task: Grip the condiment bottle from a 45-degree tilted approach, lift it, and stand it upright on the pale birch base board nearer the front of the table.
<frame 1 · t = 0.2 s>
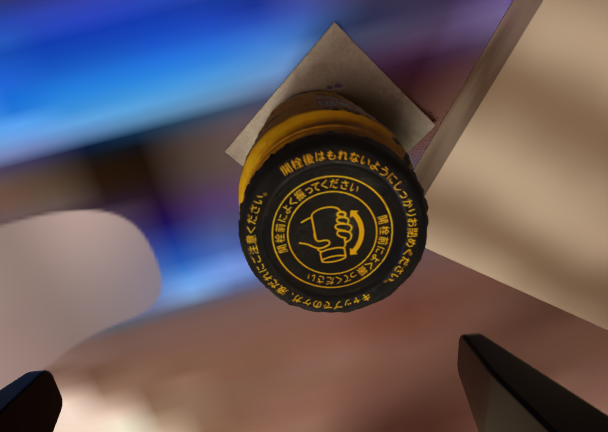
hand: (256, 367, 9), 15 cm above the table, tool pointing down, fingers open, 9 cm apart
base board: (588, 149, 22), on the table
condiment: (328, 137, 22), on the table
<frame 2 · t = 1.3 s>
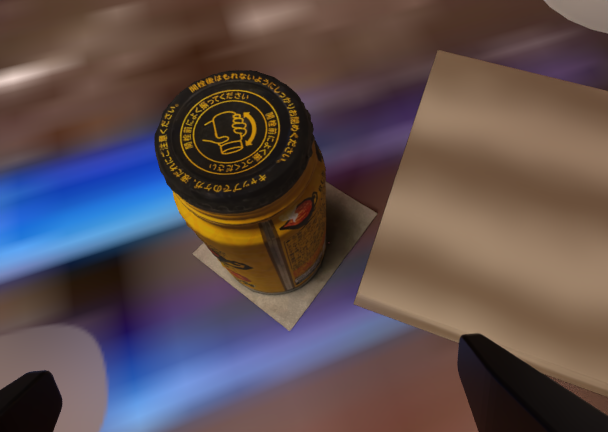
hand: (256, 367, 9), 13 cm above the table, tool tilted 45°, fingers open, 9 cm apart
base board: (527, 222, 24), on the table
condiment: (286, 236, 25), on the table
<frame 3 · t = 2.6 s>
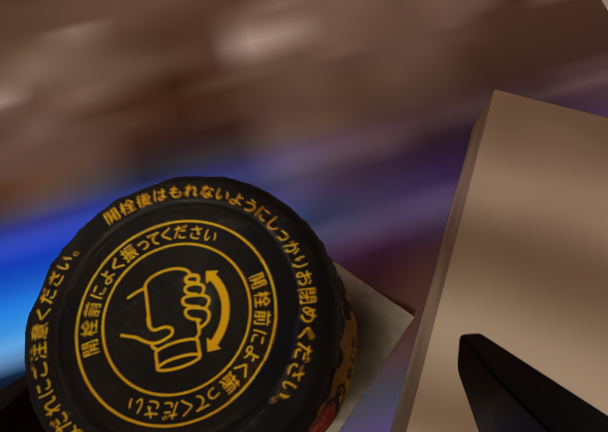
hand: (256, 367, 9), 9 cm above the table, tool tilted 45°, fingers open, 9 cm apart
condiment: (287, 346, 18), on the table
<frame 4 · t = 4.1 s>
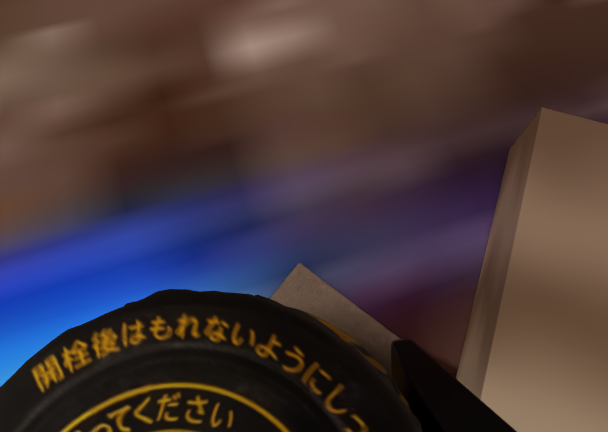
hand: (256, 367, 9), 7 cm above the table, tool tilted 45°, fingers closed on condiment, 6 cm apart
condiment: (305, 415, 15), on the table, touching gripper
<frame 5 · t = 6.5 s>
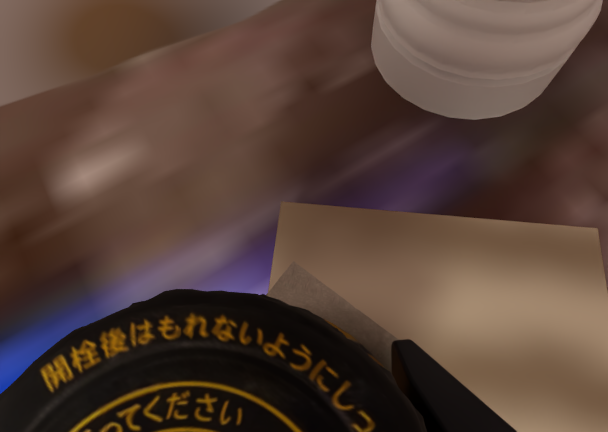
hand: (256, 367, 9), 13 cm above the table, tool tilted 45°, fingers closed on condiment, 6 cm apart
base board: (420, 380, 21), on the table
honey pot: (461, 45, 29), on the table
condiment: (300, 412, 15), point 6 cm above the table, touching gripper
when the fingers open (11 cm above the table, at t = 8.5 s): condiment stays where it is, resting on base board.
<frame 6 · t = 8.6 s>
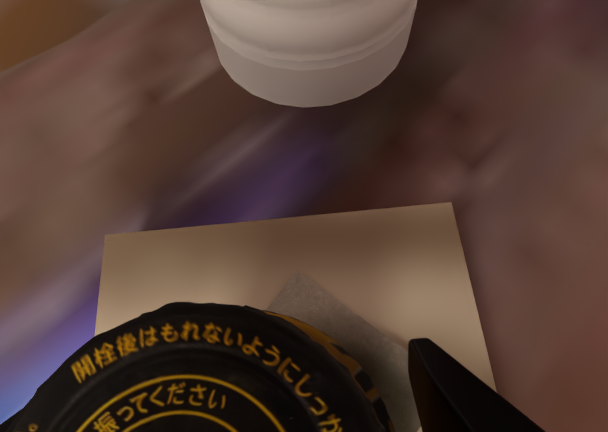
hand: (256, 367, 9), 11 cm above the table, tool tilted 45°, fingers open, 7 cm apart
base board: (294, 405, 19), on the table
honey pot: (310, 29, 27), on the table
condiment: (305, 412, 16), point 3 cm above the table, touching base board
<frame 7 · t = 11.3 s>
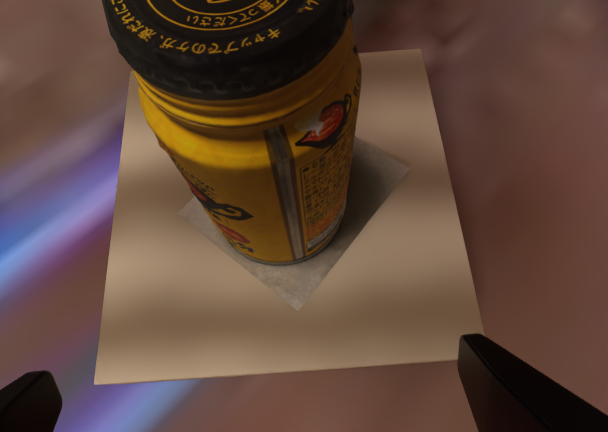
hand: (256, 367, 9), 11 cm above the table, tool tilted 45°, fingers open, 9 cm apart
base board: (286, 214, 22), on the table
condiment: (294, 194, 20), point 3 cm above the table, touching base board
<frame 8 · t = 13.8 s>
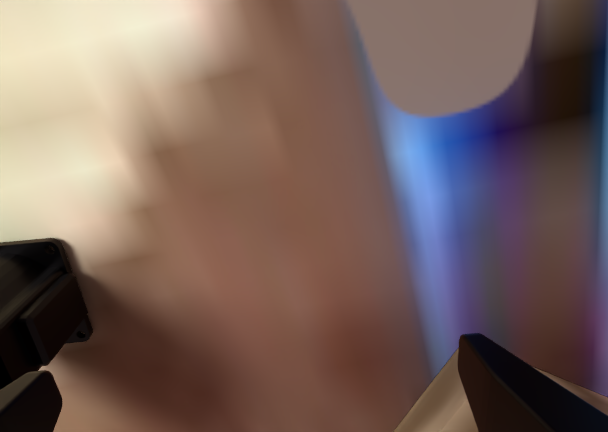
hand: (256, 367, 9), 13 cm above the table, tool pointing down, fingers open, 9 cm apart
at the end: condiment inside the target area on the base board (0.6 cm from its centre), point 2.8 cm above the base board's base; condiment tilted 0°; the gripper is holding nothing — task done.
